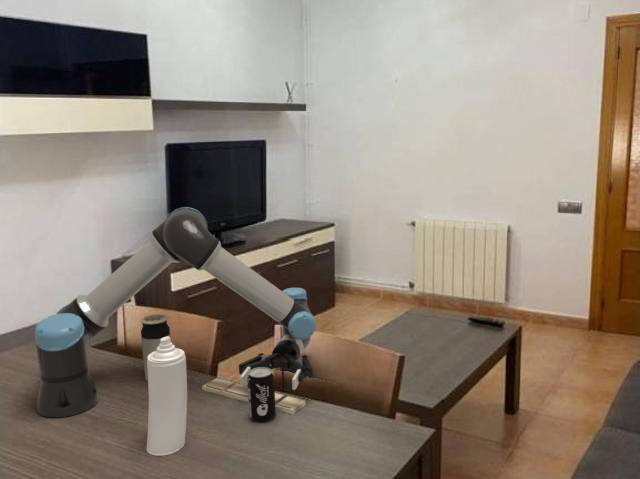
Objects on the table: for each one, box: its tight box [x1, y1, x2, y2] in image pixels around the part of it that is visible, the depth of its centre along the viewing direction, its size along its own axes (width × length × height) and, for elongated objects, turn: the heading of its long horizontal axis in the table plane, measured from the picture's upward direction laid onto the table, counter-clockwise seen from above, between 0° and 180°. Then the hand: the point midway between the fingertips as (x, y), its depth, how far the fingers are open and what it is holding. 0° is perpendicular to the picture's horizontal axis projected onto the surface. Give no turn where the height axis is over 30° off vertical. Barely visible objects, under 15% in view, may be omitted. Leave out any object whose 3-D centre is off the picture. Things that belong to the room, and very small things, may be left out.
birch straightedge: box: [201, 377, 307, 415], centre depth 165 cm, size 6×30×1 cm, turn 58°
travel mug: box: [140, 314, 172, 382], centre depth 178 cm, size 8×8×18 cm
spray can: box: [146, 336, 188, 457], centre depth 141 cm, size 12×11×25 cm
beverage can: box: [246, 367, 277, 423], centre depth 153 cm, size 7×7×12 cm
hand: (267, 383), depth 156 cm, fingers open, 13 cm apart
